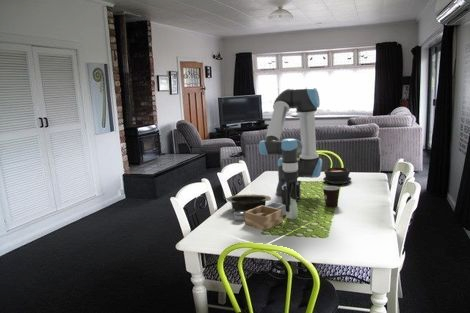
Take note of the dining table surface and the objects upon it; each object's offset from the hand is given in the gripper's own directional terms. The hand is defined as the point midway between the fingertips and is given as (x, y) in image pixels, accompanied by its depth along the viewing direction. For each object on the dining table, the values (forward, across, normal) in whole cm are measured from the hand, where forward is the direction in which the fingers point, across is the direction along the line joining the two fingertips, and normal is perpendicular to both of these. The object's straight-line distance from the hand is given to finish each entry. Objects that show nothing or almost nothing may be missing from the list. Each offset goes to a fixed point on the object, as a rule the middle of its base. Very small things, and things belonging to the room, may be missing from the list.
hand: (292, 216), depth 188 cm
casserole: (+2, -78, -20) cm, 81 cm away
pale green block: (+2, 0, 0) cm, 2 cm away
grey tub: (+2, +2, -10) cm, 10 cm away
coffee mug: (+2, -31, +4) cm, 31 cm away
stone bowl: (+2, +1, -28) cm, 29 cm away
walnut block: (+1, +14, -10) cm, 17 cm away
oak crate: (+2, +14, -6) cm, 16 cm away
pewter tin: (+2, +17, -20) cm, 26 cm away
